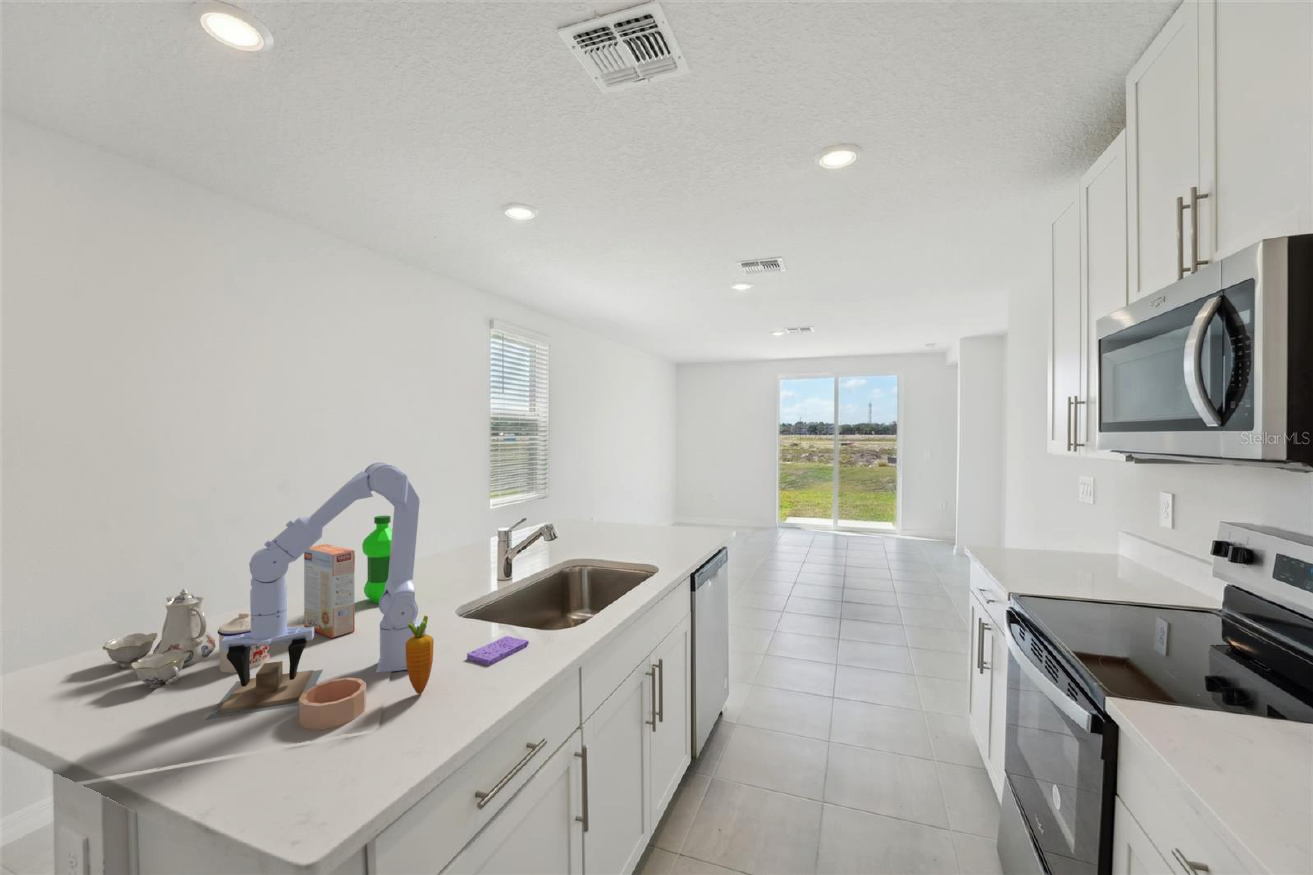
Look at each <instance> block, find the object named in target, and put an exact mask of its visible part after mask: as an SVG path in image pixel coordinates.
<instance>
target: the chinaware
mask: <svg viewBox="0 0 1313 875" xmlns="http://www.w3.org/2000/svg"><path fill="white" fill-rule="evenodd" d="M203 600H204V597H200V596H195V595H194V594H193V593H189V591H188V590H187V588H183V589H181V592H179V595H178V594H177V595H176V596H175V598H174V597H173V596H168V597H166V602H165V603H164V605H163V606H164V607H165V608H166V614H165V615H166V616H165V619H164V623H163V626H162V630H161V640H160V641H159V642H158V643H157V645H156V646H155V648H154V649H153V652H152V653H151V654H149V653H150V651H151V650H152V648H153V646H154V643H155V640H156V639H157V638H158V633H157V632H151V633H149V634H146V633H145V634H144V633H140V632H138V633H133V634H129V635H127V636H125V637H123V638H113V639H109V640H108V641H107V642H105V644H104V645H103V646H102V650H103V651H106V652H107V654H108V657H109V658H110V659H111V660H112V661H113V662H115V663H117V664H120V665H122V666H120V665H118V667H119V666H120V667H122V668H128V667H130V668H131V669H133V670H134V671H135V673H136V676H137V677H138V679H139V681H142V682H143V683H145V684H148V685H150V687H149V689H155V688H159V687H160V686H161V685H162V684H164V683H165V685H170V684H172V683H176V682H178V680H179V675H180V672H181V671H182V669H183V667H186V666H189V665H194V664H197V663H203V662H204V663H205V662H207V661H208V660H209V659H210V658H211V656H210V655H211V654H212V653H213V651H214V650H215V648H216V643H215V642H216V639H215V637H214V636H213V635H212V634H211V633H210V632H209V631H208V630H207V619H206V615H205V613H204V612H203V610H202V609H201V607H202V604H203ZM138 660H139V661H138ZM174 678H175V679H174Z"/></svg>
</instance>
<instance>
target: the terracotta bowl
mask: <svg viewBox="0 0 1313 875" xmlns="http://www.w3.org/2000/svg"><path fill="white" fill-rule="evenodd" d="M366 707H367V683H366V681H364V680H363V679H361V678H356V677H343V678H335V679H329V680H326V681H323V682H321V683H320V682H319V683H318V684H317V683H316V685H314V686H313V687H311V688H309V689H308V690H306V691H304V692H303V693H302V695H301V697H300V699H299V705H298V722H299V725H301V726H302V727H303V728H304V729H308V730H309V729H311V730H323V729H330V728H336V727H339V726H342V725H344V724H347V723H350V722H352V721H355V719H357V718H359V717H360V715H362V714H363V713H364V712H365V710H366Z"/></svg>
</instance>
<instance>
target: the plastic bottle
mask: <svg viewBox="0 0 1313 875" xmlns="http://www.w3.org/2000/svg"><path fill="white" fill-rule="evenodd" d="M373 518H374V519H373V520H374V521H373V523H374V525H376V527H375V529H374V530H373V531H372V532H370V533H369V534H368V535H367V536H366V537H365V538H364V539H363V542H362V545H361V546H362V547H361V548H362V552H363V554H364V555H365V556H367V557H366V558H367V581H366V582H365V584H364V587H363V593H364V595H365V597H367V599H369V600H370V601H372V602H373V603H374V604H379V600H380V598H381V596H382V595H383V593H384V590H385V584H386V581H387V579H388V573H389V562H390V550H391V539H392V529H391V528H390V527H389V526H390V525H389V524H390V523H392V522H391V521H392V520H391V518H392V517H391V515H378V516H377V515H376V516H374V517H373Z"/></svg>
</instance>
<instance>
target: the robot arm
mask: <svg viewBox="0 0 1313 875" xmlns="http://www.w3.org/2000/svg"><path fill="white" fill-rule="evenodd" d="M372 492H375V493H376V494H379V495H380V496H382V497H384V498H385V499H386V500H387V501H388V502H389V503H390V504H391V505H392V506H393V518H392V529H391V530H392V539H391V550H390V562H389V573H388V579H387V581H386V584H385V590H384V593H383V595H382V596H381V598H380V600H379V603H378V609H379V611H380V613H381V614H383V617H382V619H381V621H380V623H379V660H378V663H377V666H376V670H375V673H384V672H385V673H386V672H398V671H406V670H407V665H406V642H407V641H408V640H409V639H410V638H411V637H412V636H414V634H413V632H412V631H411V629H410V628H409V627H408V623H410V622H411V621H412V622H413V623H414V625H415V627H416V630H417V626H419V627H420V624H421V622H422V621H423V620H417V617H418V613H419V607H418V604H417V601H416V598H415V596H416V591H415V589H416V588H415V585H414V568H415V560H416V559H415V558H416V547H417V546H416V545H417V535H418V534H417V533H418V525H419V524H418V523H419V512H420V504H421V503H420V502H421V501H420V498H419V495H418V494H417V492H416V490H415V489H414V487H413V485H412V484H411V482H410V480H409V478H408V475H407V474H405V472H403V471H402V470H400V469H399V468H398V467H396V466H395V465H392V464H388V463H386V462H381V461H380V462H375V463H374V462H373V463H371V464H369V465H368V466H367V467H366V468H365V469H364V471H363V470H362V471H360V472H359V473H357V474H355V475H354V477H352V478H350V480H348V481H347V482H345V484H344V485H343V486H342V487H341V488H339V490H337V491H336V492H335V493H334V494H333V495H332V496H331V497H330V498H329V499H327V500H326V501H325V502H324V503H323V504H322V505H321V506H320V507H319V508H318V509H317V510H316V511H314V512H313V514H311V515H310V516H307V517H306V516H304V517H303V516H302V517H298V518H296V520H292V519H291V520H289V521H288V522H287V523H286V524H285V526H286V528H285V529H284V530H282V531H281V532H280V533H279V534H277V536H275V538H273V539H272V540H271V541H270V540H269V539H268V540H267V541H266V542H264V547H262V548H260V549H258V550H257V551H255V552H254V554H253V555H252V556H251V558H250V561H249V563H248V564H249V572H250V575H251V579H250V586H251V588H250V591H249V594H250V595H249V597H250V599H249V602H250V604H249V605H250V606H249V607H250V608H249V609H250V610H249V612H250V615H251V633H245V634H240V635H235V636H229V637H225V638H224V639H223V640H222V641H221V651H224V650H229V651H228V654H227V655H226V656H227V659H228V660H229V661H230V662H231V664H232V665H233V666H234V668H235V670H236V672H235V673H237V675H238V678H239V681H240V682H241V686H242V687H244V686H246V685H247V684H248V683H249V682H250V679H251V673H250V672H251V670H250V668H249V659H250V648H251V646H255V645H265V644H270V645H271V644H279V643H288V642H290V644H289V645H288V646H287V652H288V657H289V669H288V670H289V671H288V672H289V679H290V680H293V679H294V678H295V677H296V674H297V672H298V667H299V663H300V660H301V657H302V654H303V652H304V650H305V648H306V645H307V643H308V641H312V640H313V639H314V637H315V631H314V627H309V628H305V627H288V594H287V593H288V592H287V591H288V587H287V586H288V585H287V583H286V574H287V572H288V570H289V564H290V563H293V562H296V561H297V560H298V559H299V558H300V557H301V556H302V555H304V552H306V551H307V550H308V549H309V548H310V547H311V546H314V545H315V544H316V543H317V542H318V541H319V540H320V539H322V538H323V529H324V527H325V526H327V525H328V524H329V523H330V522H331V521H333V520H334V519H335V518H336V517H338V515H340V514H341V513H342V512H343V511H346V509H347V508H348V507H350V506H351V505H352V504H354V502H356V501H358V500H361V499H368V498H372V497H374V494H372ZM423 634H427V628H426V629H425V631H424V633H423ZM407 671H408V670H407Z"/></svg>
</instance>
